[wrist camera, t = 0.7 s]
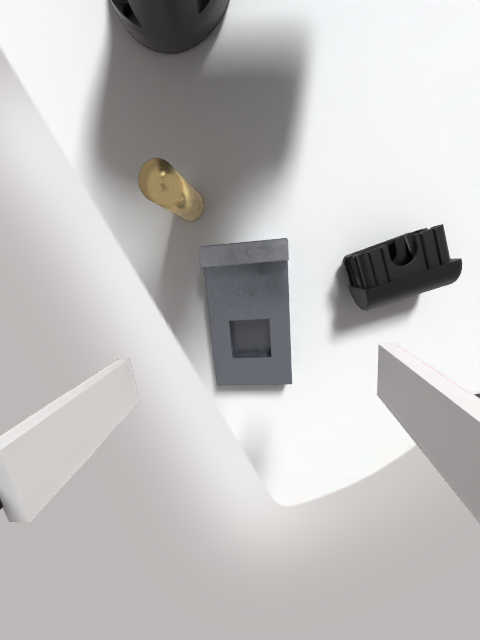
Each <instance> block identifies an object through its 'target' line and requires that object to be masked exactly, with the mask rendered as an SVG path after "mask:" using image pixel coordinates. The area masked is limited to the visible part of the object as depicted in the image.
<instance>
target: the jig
mask: <svg viewBox="0 0 480 640" xmlns="http://www.w3.org/2000/svg"><path fill="white" fill-rule="evenodd" d="M198 249H199V257H200V266H201V267H204V272H205V281H206V290H207V298H208V307H209V316H210V325H211V334H212V343H213V352H214V361H215V370H216V379H217V385H267V384H292V371H291V343H290V314H289V286H288V260H289V258H288V239H287V238H282V239H272V240H261V241H251V242H241V243H231V244H220V245H210V246H202V248H198Z"/></svg>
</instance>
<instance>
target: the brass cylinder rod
mask: <svg viewBox="0 0 480 640" xmlns="http://www.w3.org/2000/svg"><path fill="white" fill-rule="evenodd" d="M139 186H140V189H141V191H142V193H143V194H144V196H145V197H146V198H147V199H149V200H150V201H152V202H154V203H156V204H158V205H160V206H161V207H163V208H165V209H167V210H169V211H171V212H172V213H174V214H176V215H178V216H180V217H182V218H183V219H185V220H189V221H192V220H195V219H197V218H199V217H200V215H201V214H202V212H203V209H204V203H203V199H202V197H201V196H200V194H199V193H198V192H197V191H196V190H195V189H194V188H193V187H192V186H191V185H190V184H189V183H188V182H187V181H186V180H185V179H184V178H183V177H182V176H181V175H180V174H179V173H178V172H177V171H176V170H175V169H174V168H173V167H172V166H171V165H170V164H169V163H168V162H167V161H165V160H163V159H160V158H154V159H151V160H149V161H147V162H146V163H145V164H144V165H143V166H142V168H141V170H140V173H139Z"/></svg>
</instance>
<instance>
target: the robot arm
mask: <svg viewBox="0 0 480 640" xmlns="http://www.w3.org/2000/svg"><path fill="white" fill-rule="evenodd" d="M110 1H111V3H112V5H113V7H114V9H115V10H116V12H117V14H118V15H119V17H120V19H121V20H122V22H123V24H124V25H125V27H126V28H127V30H128V31H129V32H130V33H131V35H132V36H133V37H134V38H135V39H136V40H137V41H139V42H140V43H141V44H143V45H144V46H146V47H148V48H149V49H152V50H154V51H157V52H162V53H177V52H182V51H185V50H188V49H190V48H192V47H194V46H195V45H197V44H199V43H200V42H201V41H202V40H204V39H205V38H206V37H207V36H208V35H209V34H210V33H211V32H212V30H213V29H214V28H215V26H216V25H217V24H218V22H219V20H220V19H221V17H222V15H223V13H224V11H225V9H226V6H227V3H228V1H229V0H110ZM377 395H378V397H379V398H380V399H381V400H382V402H383V403H384V404H385V405H386V407H387V408H388V409H389V410H390V412H391V413H392V414H393V415H394V417H395V418H396V419H397V420H398V422H399V423H400V424H401V425H402V427H403V428H404V429H405V430H406V432H407V433H408V434H409V435H410V437H411V438H412V439H413V440H414V442H415V443H416V444H417V445H418V447H419V448H420V449H421V450H422V452H423V453H424V454H425V455H426V457H427V458H428V459H429V460H430V462H431V463H432V464H433V465H434V467H435V468H436V469H437V471H438V472H439V473H440V474H441V475H442V477H443V478H444V479H445V481H446V482H447V483H448V484H449V485H450V487H451V488H452V489H453V491H454V492H455V493H456V494H457V496H458V497H459V498H460V499H461V500H462V502H463V503H464V504H465V506H466V507H467V508H468V509H469V511H470V512H471V513H472V514H473V516H474V517H475V518H476V519H477V521H478V522H479V523H480V394H472V393H471V392H469V391H468V390H466V389H465V388H463V387H462V386H460V385H459V384H457V383H456V382H454V381H453V380H451V379H450V378H448V377H446V376H445V375H443V374H442V373H440V372H439V371H437V370H436V369H434V368H433V367H431V366H430V365H428V364H427V363H425V362H424V361H422V360H421V359H419V358H418V357H416V356H415V355H413V354H412V353H410V352H409V351H407V350H405V349H404V348H402V347H401V346H399V345H398V344H396V343H390V344H379V352H378V385H377ZM139 402H140V400H139V396H138V392H137V388H136V383H135V379H134V375H133V371H132V367H131V362H130V359H117V360H116V361H114V362H113V363H111V364H110V365H108V366H107V367H105V368H104V369H102V370H100V371H99V372H97V373H96V374H94V375H93V376H92V377H90V378H88V379H87V380H85V381H84V382H83V383H81V384H79V385H78V386H76V387H75V388H73V389H72V390H70V391H69V392H67V393H65V394H64V395H62V396H61V397H59V398H58V399H56V400H55V401H53V402H52V403H50V404H49V405H47V406H45V407H44V408H42V409H41V410H39V411H38V412H36V413H35V414H33V415H32V416H30V417H29V418H27V419H26V420H24V421H23V422H21V423H19V424H18V425H17V426H15V427H14V428H12V429H10V430H9V431H7V432H6V433H4V434H3V435H1V436H0V509H1V508H2V507H3V509H4V511H5V513H6V516H7V518H8V520H9V522H22V523H30V522H31V521H32V520H33V519H34V517H35V516H36V515H37V514H38V513H39V512H40V511H41V510H42V509H43V508H44V506H45V505H46V504H47V503H48V502H49V501H50V500H51V499H52V498H53V497H54V496H55V494H56V493H57V492H58V491H59V490H60V489H61V488H62V487H63V486H64V485H65V483H66V482H67V481H68V480H69V479H70V478H71V477H72V476H73V475H74V474H75V472H76V471H77V470H78V469H79V468H80V467H81V466H82V465H83V464H84V463H85V462H86V460H87V459H88V458H89V457H90V456H91V455H92V454H93V453H94V452H95V451H96V450H97V448H98V447H99V446H100V445H101V444H102V443H103V442H104V441H105V440H106V439H107V437H108V436H109V435H110V434H111V433H112V432H113V431H114V430H115V429H116V428H117V426H118V425H119V424H120V423H121V422H122V421H123V420H124V419H125V418H126V417H127V415H128V414H129V413H130V412H131V411H132V410H133V409H134V408H135V407H136V406H137V405H138V403H139Z"/></svg>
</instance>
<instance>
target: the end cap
mask: <svg viewBox="0 0 480 640" xmlns="http://www.w3.org/2000/svg"><path fill="white" fill-rule="evenodd" d="M344 264H345V268H346V271H347V275H348V279H349V282H350V286H349V289H350V292H351V294H352V297H353V299H354V301H355V302H356V304H357V305H358V306H359V307H360V308H361V309H362V310H369V309H372V308H375V307H379V306H382V305H385V304H388V303H391V302H395V301H398V300H401V299H404V298H407V297H410V296H414V295H417V294H420V293H423V292H426V291H430V290H433V289H436V288H439V287H442V286H445V285H449V284H452V283H453V282H455V281H456V280H457V279H458V278H459V276H460V274H461V270H462V259H450V256H449V251H448V246H447V242H446V237H445V232H444V227H443V224H442V225H437V226H434V227H431V229H428V230H427V228H425V229H421V230H417V231H414V232H411V233H407V234H404V235H401V236H399V237H396V238H393V239H390V240H388V241H385V242H382V243H379V244H376V245H374V246H371V247H368V248H365V249H363V250H360V251H357V252H354V253H352V254H349V255H346V256H345V257H344Z"/></svg>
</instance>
